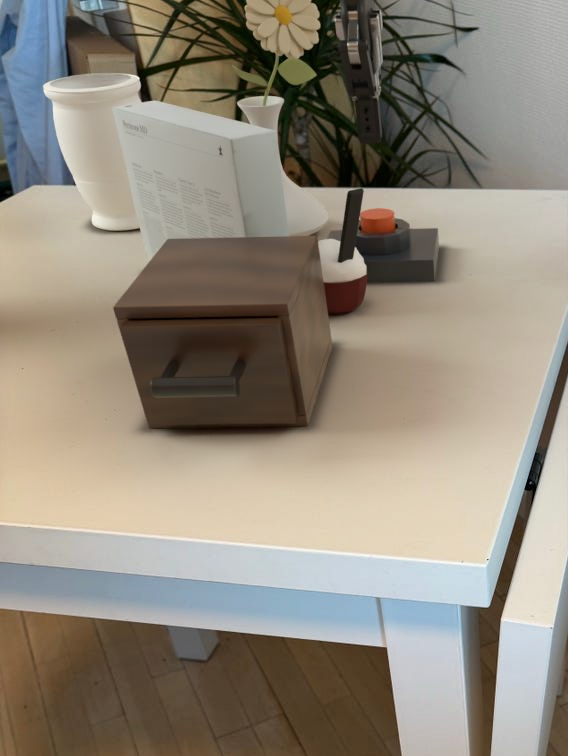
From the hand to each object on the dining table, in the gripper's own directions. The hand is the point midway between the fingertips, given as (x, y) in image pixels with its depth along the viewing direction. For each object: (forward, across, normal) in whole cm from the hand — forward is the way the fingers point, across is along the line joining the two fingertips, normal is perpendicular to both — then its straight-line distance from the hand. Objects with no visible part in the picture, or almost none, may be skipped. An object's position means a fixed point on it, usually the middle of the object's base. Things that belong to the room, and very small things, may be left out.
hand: (370, 141), depth 90 cm
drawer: (+11, +32, -9) cm, 35 cm away
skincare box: (+12, +6, -16) cm, 21 cm away
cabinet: (+12, +28, -9) cm, 32 cm away
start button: (+9, 0, 0) cm, 9 cm away
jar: (+12, -17, -33) cm, 39 cm away
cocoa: (+12, +12, -3) cm, 17 cm away
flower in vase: (+12, -11, -12) cm, 20 cm away
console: (+12, 0, 0) cm, 12 cm away
